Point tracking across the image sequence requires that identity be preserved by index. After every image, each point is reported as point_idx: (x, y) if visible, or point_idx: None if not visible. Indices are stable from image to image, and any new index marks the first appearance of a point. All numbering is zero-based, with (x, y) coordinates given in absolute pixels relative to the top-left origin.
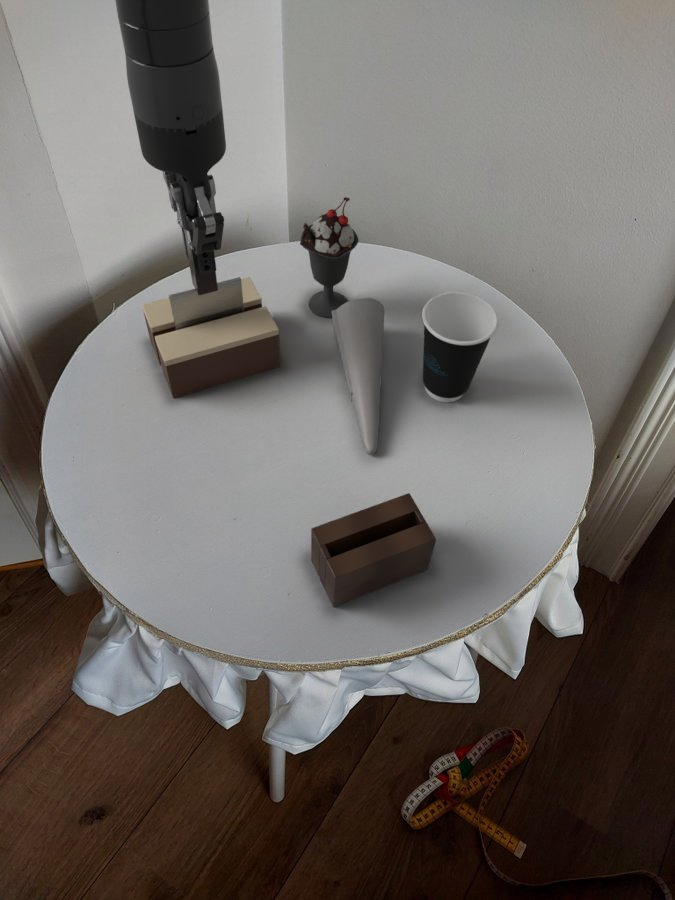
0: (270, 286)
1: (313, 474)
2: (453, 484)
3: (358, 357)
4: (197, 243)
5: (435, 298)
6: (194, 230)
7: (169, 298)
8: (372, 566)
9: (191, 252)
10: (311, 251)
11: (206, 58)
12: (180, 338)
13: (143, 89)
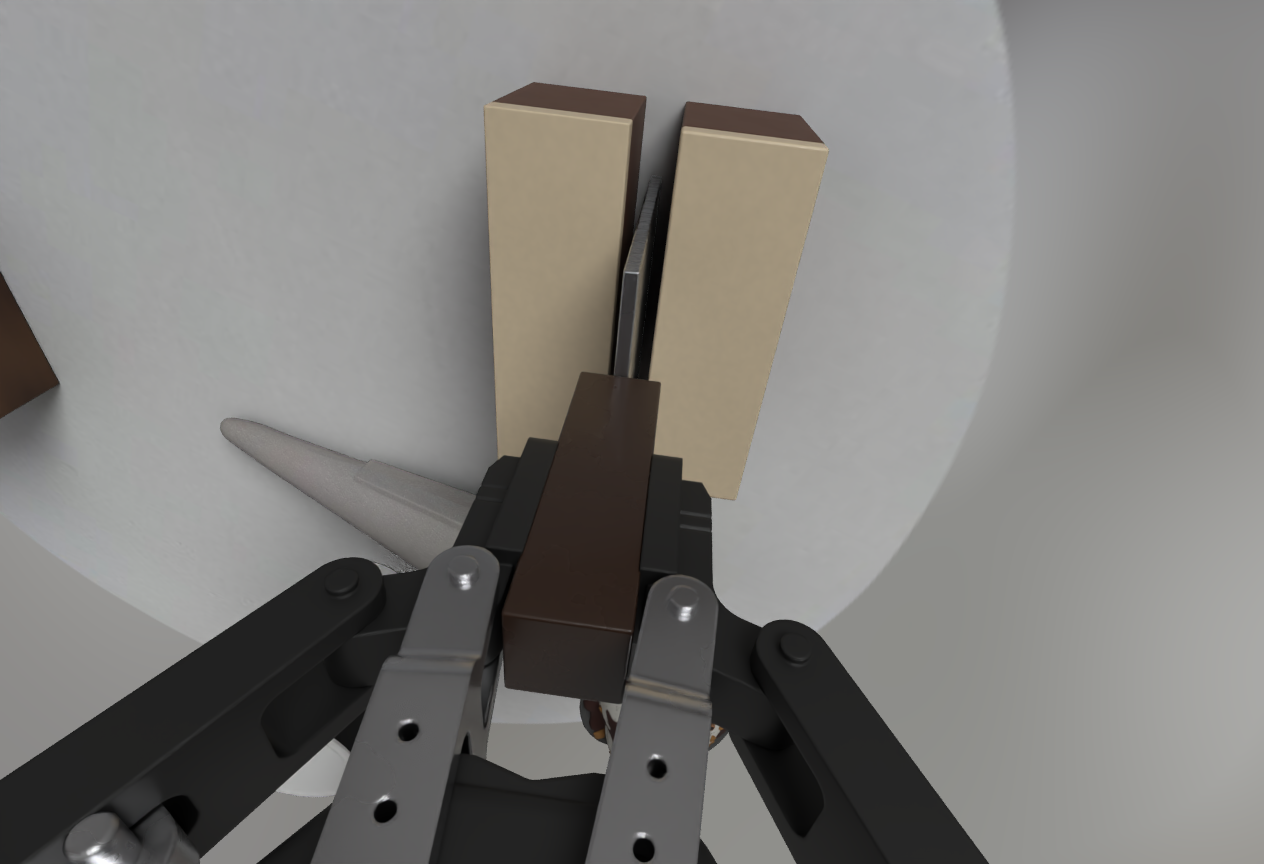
0: (796, 490)
1: (197, 301)
2: (155, 492)
3: (409, 540)
4: (166, 669)
5: (342, 758)
6: (131, 757)
7: (633, 267)
8: None
9: (514, 518)
10: (627, 678)
11: None
12: (574, 210)
13: None
